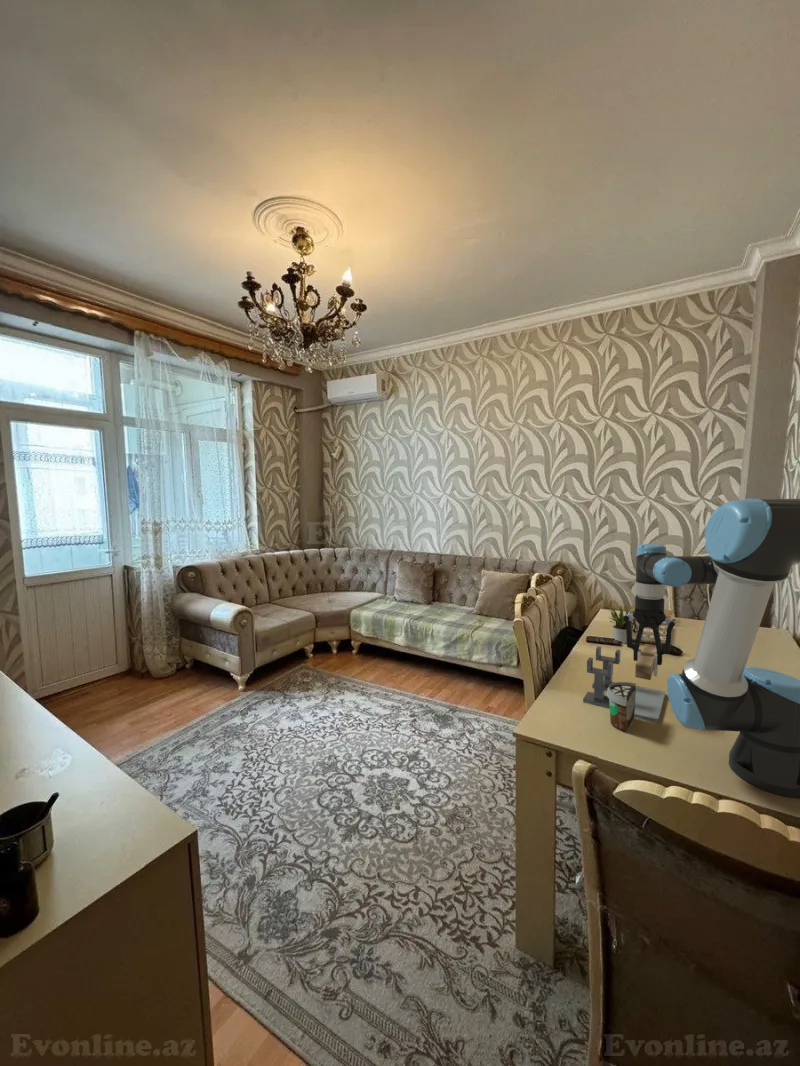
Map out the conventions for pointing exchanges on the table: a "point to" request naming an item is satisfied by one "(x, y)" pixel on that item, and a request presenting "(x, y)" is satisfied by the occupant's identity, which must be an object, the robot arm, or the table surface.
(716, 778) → the table surface
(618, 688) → the food container
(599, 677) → the post near
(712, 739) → the table surface
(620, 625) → the house plant
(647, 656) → the rail
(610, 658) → the post far
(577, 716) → the table surface
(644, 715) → the mat
